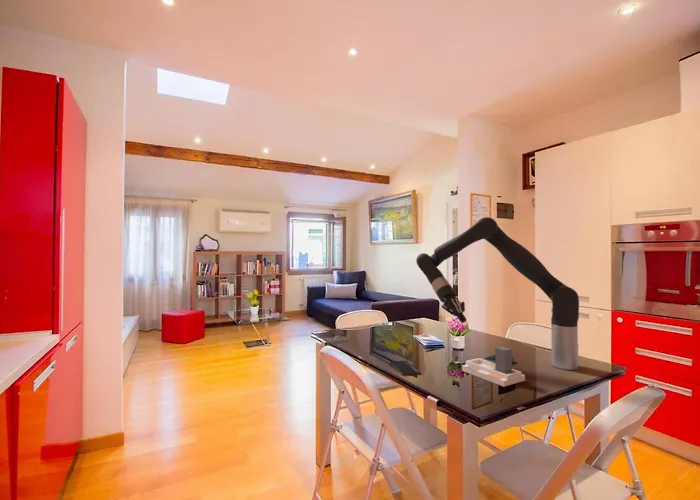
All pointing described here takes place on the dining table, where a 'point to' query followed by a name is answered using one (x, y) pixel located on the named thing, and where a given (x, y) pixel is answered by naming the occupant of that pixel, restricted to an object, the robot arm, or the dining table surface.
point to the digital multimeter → (492, 359)
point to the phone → (404, 368)
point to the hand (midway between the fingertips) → (464, 321)
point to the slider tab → (503, 360)
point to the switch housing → (491, 372)
